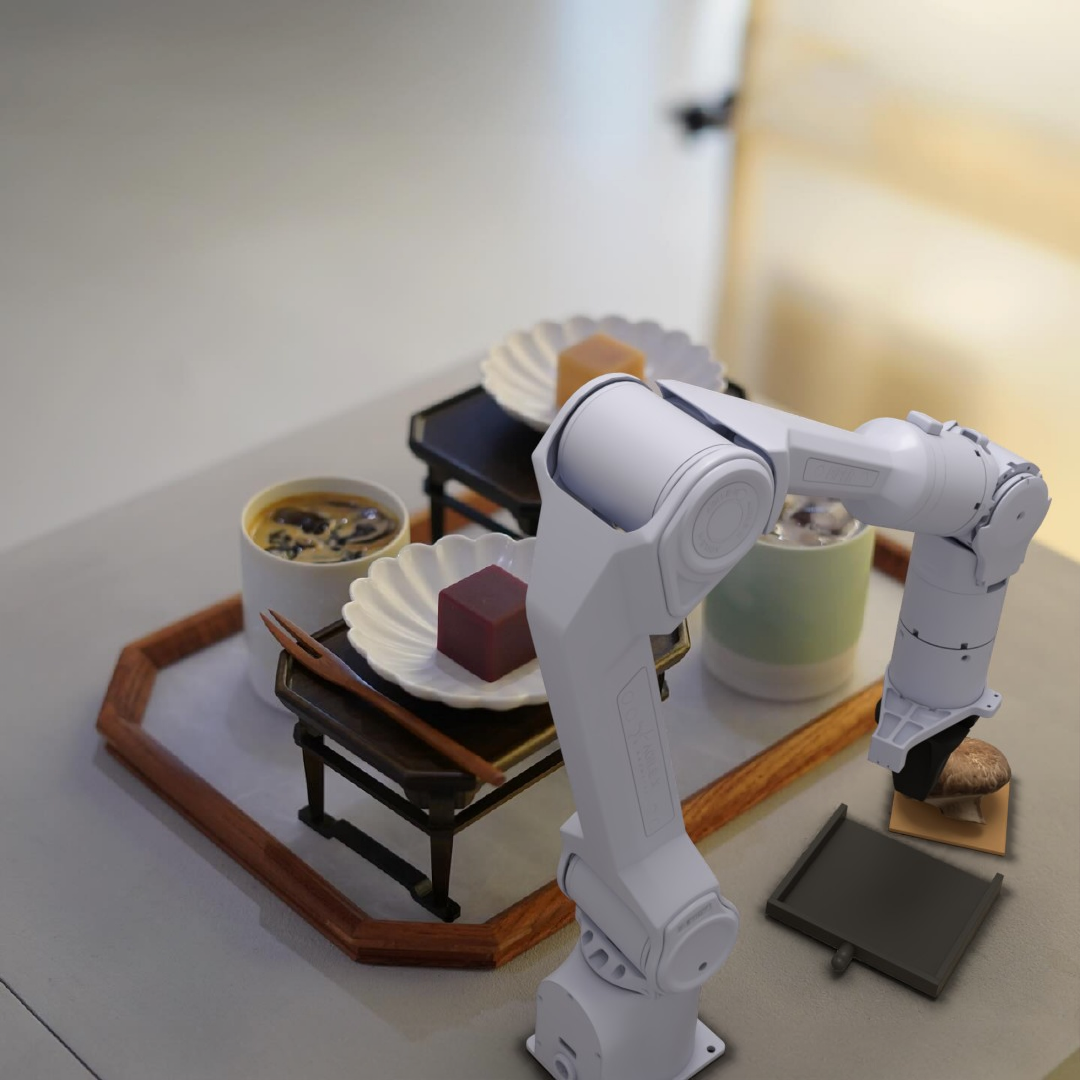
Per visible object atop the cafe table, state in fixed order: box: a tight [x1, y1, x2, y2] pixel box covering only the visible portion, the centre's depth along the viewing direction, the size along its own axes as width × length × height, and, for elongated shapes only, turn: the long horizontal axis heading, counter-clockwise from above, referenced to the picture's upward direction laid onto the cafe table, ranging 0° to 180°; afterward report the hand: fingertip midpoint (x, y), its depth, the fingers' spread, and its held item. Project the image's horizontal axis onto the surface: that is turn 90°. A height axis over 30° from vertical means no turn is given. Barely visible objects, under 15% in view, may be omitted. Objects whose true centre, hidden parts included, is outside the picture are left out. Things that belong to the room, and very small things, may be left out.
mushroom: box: [901, 736, 1013, 825], centre depth 108 cm, size 8×8×6 cm
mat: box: [888, 780, 1011, 857], centre depth 110 cm, size 8×8×1 cm
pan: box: [764, 802, 1005, 998], centre depth 101 cm, size 14×12×2 cm
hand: (912, 790), depth 98 cm, fingers closed
